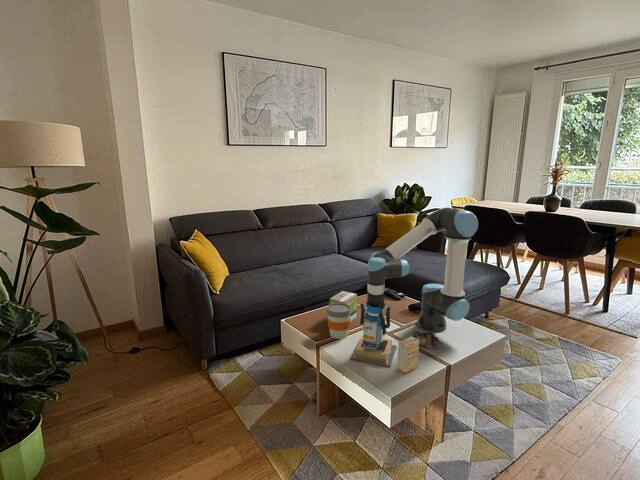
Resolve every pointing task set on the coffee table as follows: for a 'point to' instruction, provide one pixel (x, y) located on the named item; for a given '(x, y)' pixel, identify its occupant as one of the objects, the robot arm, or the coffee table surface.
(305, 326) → the coffee table surface
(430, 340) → the bison figurine
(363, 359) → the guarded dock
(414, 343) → the supplement box
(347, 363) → the coffee table surface
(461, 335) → the coffee table surface
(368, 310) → the beverage bottle
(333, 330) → the reusable coffee cup
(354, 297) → the tea box
